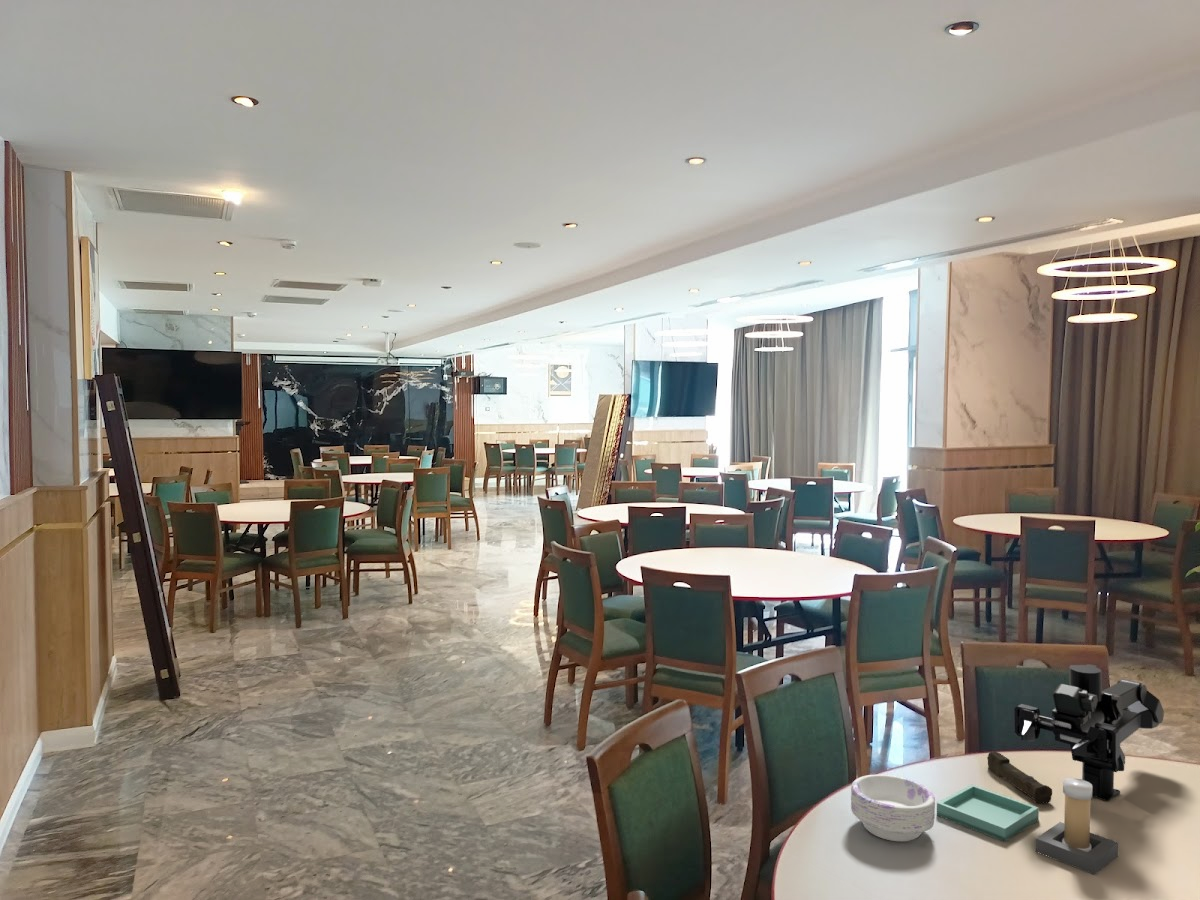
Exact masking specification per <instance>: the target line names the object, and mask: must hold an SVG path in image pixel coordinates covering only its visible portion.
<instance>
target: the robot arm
mask: <svg viewBox="0 0 1200 900" xmlns="http://www.w3.org/2000/svg"><path fill="white" fill-rule="evenodd" d="M1068 669H1069V685H1068V684H1064V683H1059V684H1058V685H1057V686H1056V689H1055V690H1054V691H1053V693H1052V698H1053V702H1054V709H1052V710H1051V717H1052V718H1051V717H1047V716H1043V715H1041V710H1040V709H1039V707H1035V706H1032V705H1028V704H1023V703H1020V704H1019V705H1016V706H1015V708H1014V733H1015V734H1016V735H1017V736H1018V737H1020V738H1021V739H1020V740H1021V741H1022V742H1023V741H1024V742H1025V741H1026V742H1036V740H1037V739H1039V736H1040V734H1041V729H1042V730H1046V731H1049V732H1052V733H1053V735H1054V741H1055V742H1059V743H1064V744H1067V745H1069V746H1070V751H1071V758H1072V760H1073V761H1074V762H1075V761H1077V762H1080V763H1081V767H1082V768H1081V769H1082V771H1081V773H1082V774H1081V775H1082V776H1081V777H1082V778H1081V779H1082V780H1085V781H1087V782H1089V783H1091V784H1092V798H1096V799H1098V800H1099V799H1100V800H1102V801H1106V802H1109V801H1111V800H1113V799H1114V798H1116V797H1117V796H1118V795H1120V794H1121V790H1119V789H1116V788H1115V787H1114V785H1115V784H1114V783H1115V781H1114V780H1115V773H1117V772H1124V771H1125V765H1126V755H1125V753H1124V751H1123V749H1122V747H1121V743H1123V742H1124V741H1125V740H1127V739H1128V738H1129V737H1130V736H1131V735H1133V734H1134V733H1135V732H1137V731H1138V730H1139V729H1147V730H1152V729H1156V728H1157V727H1158V726H1159V725H1160V724H1162V723H1163V721H1164V715H1165V713H1164V712H1165V711H1164V708H1163V705H1162V702H1161V701H1160V699H1159V698H1158V697H1156V696H1155V695H1154V694H1153V693H1151V692H1150V691H1149V690H1148V688H1147V687H1146V685H1145V684H1143V683H1141V682H1139V681H1133V680H1129V679H1118V681H1117V683H1115V684H1113V685H1111V686H1109V687H1107V688H1105V689H1103V688H1102V687H1103V685H1102V684H1103V683H1102V681H1103V680H1102V679H1103V678H1102V677H1103V675H1102V669H1100V668H1099V667H1098V665H1095V664H1090V663H1087V664H1070V665H1069V667H1068Z"/></svg>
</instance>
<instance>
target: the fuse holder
mask: <svg viewBox="0 0 1200 900" xmlns="http://www.w3.org/2000/svg"><path fill="white" fill-rule="evenodd" d="M1063 838H1064V822H1062V821H1059V822H1057V823H1056V824H1055V825H1053V826H1052V827H1050V828H1049V829H1047V830H1046V831H1044V832H1043V833H1041V834H1039V835H1038V836H1037V837H1035V853H1038V852H1039V854H1040V853H1041V854H1040V855H1043V854H1044V855H1043V856H1045V855H1047V856H1046V857H1048V856H1049V857H1048V858H1050V857H1051V858H1050V859H1054V860H1055V859H1056V861H1059V862H1061V863H1064V864H1066V865H1068V866H1071V867H1074V868H1076V869H1079V870H1082V871H1083V872H1087V873H1089V874H1092V875H1093V876H1094V875H1097V874H1098V873H1099V872H1100V871H1102V870H1103V869H1105V867H1107V866H1108V865H1109V864H1110V863H1111V862H1114V860H1115V859H1116V858H1118V857H1119V842H1118V841H1117V840H1112V839H1109V838H1106V837H1104V836H1102V835H1099V834H1096V833H1092V832H1090V844H1091V846H1092V847H1091V850H1090V851H1089V852H1086V851H1083V850H1080V849H1077V848H1075V847H1072V846H1069V845H1067V844H1064V843H1062V839H1063Z"/></svg>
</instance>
